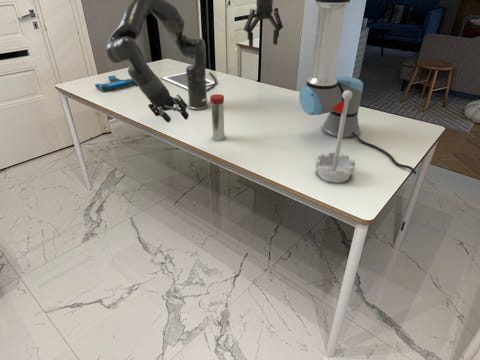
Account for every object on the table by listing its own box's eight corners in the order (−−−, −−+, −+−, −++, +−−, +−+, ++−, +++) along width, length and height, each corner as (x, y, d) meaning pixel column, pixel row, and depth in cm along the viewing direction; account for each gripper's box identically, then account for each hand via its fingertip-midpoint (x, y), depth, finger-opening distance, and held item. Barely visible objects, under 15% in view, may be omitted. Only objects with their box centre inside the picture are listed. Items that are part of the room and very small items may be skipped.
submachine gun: (140, 68, 224) (158, 75, 207) (141, 74, 226) (159, 81, 209) (87, 79, 205) (103, 86, 189) (89, 85, 207) (104, 93, 190)
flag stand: (338, 161, 126) (352, 82, 110) (360, 179, 116) (380, 94, 100) (307, 168, 122) (318, 86, 106) (328, 187, 112) (342, 100, 96)
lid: (208, 103, 134) (208, 98, 133) (213, 98, 138) (213, 93, 137) (221, 104, 132) (221, 99, 131) (226, 99, 137) (225, 94, 136)
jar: (211, 139, 143) (209, 98, 133) (215, 134, 147) (213, 94, 137) (222, 141, 141) (220, 100, 132) (226, 136, 145) (224, 96, 136)
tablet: (161, 78, 216) (161, 77, 216) (188, 72, 227) (188, 71, 227) (189, 90, 196) (189, 89, 195) (217, 83, 207) (217, 82, 206)
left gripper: (172, 77, 119) (196, 109, 130) (141, 84, 125) (166, 115, 137) (165, 92, 115) (190, 124, 127) (134, 99, 121) (160, 129, 133)
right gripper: (283, -6, 163) (280, 41, 174) (236, -3, 154) (237, 46, 166) (292, -4, 157) (288, 44, 169) (243, -2, 148) (243, 49, 160)
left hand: (178, 119), depth 132 cm, fingers open, 8 cm apart
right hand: (263, 45), depth 167 cm, fingers open, 13 cm apart
